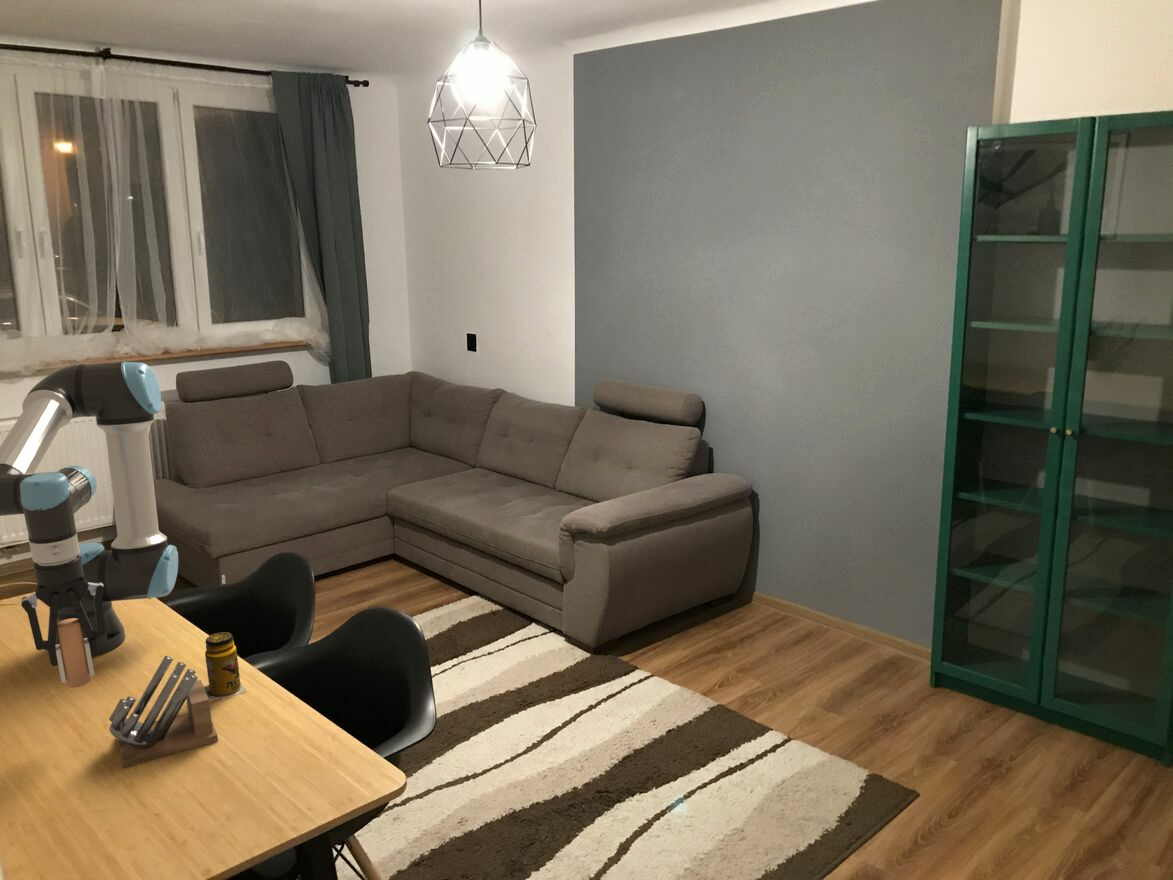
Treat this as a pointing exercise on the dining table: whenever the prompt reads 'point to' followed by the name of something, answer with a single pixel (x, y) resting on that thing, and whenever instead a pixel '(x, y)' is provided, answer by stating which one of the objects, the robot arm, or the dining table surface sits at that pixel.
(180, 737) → the socket base
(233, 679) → the condiment
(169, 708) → the socket
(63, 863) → the dining table surface
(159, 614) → the dining table surface
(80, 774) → the dining table surface
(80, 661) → the peg
